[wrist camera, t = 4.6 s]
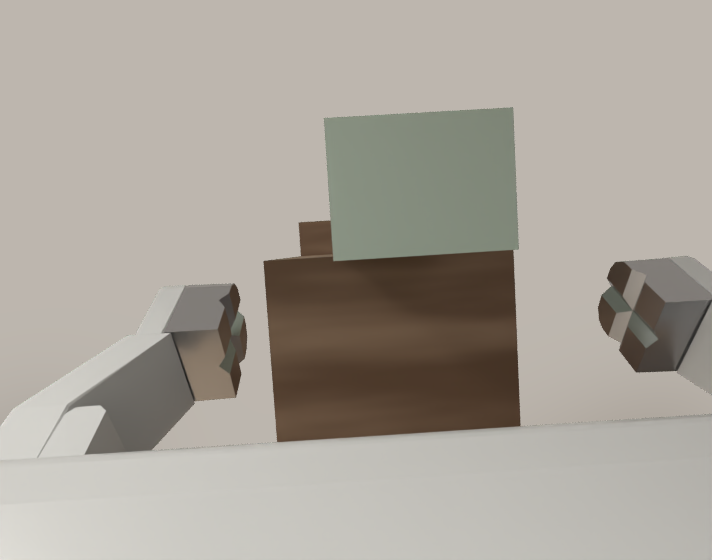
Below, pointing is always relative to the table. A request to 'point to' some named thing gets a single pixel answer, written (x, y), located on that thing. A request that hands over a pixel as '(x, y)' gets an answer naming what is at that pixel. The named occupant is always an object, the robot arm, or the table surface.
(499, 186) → the batten
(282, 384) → the stand
